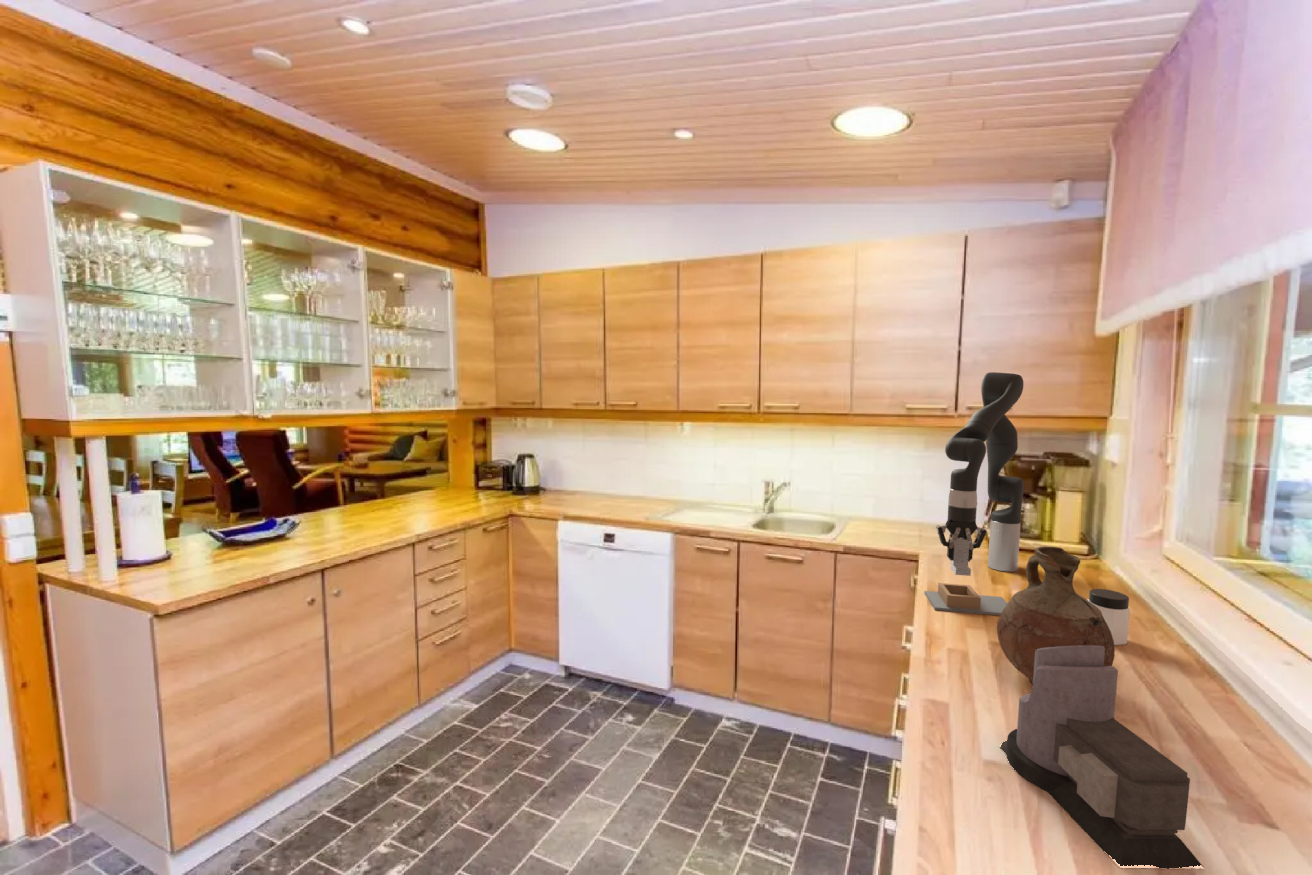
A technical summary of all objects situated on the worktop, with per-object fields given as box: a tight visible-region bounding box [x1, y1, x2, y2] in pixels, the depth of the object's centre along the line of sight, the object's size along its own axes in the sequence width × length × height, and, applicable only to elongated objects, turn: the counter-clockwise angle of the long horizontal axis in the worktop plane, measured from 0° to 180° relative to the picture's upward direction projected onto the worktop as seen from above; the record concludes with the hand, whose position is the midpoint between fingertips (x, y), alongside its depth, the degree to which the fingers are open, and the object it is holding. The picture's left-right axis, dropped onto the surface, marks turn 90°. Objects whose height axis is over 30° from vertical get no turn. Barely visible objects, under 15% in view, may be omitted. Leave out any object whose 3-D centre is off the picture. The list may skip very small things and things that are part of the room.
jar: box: [1086, 588, 1131, 646], centre depth 152 cm, size 9×8×12 cm
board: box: [924, 582, 1008, 617], centre depth 175 cm, size 14×22×4 cm, turn 77°
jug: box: [996, 545, 1116, 684], centre depth 128 cm, size 22×22×30 cm
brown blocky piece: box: [999, 645, 1203, 870], centre depth 94 cm, size 30×16×24 cm, turn 0°
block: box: [949, 538, 972, 577], centre depth 174 cm, size 6×4×10 cm, turn 167°
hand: (959, 560), depth 176 cm, fingers closed on block, 4 cm apart
